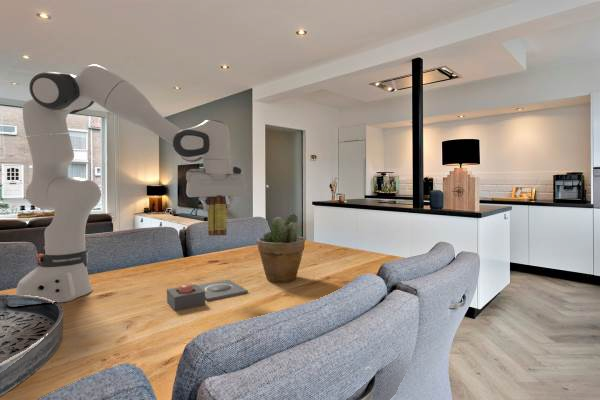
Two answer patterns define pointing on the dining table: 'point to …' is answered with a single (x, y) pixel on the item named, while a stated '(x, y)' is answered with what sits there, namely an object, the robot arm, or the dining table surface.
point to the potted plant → (281, 250)
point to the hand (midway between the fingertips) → (217, 209)
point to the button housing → (185, 298)
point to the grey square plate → (221, 289)
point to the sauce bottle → (217, 215)
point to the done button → (185, 288)
